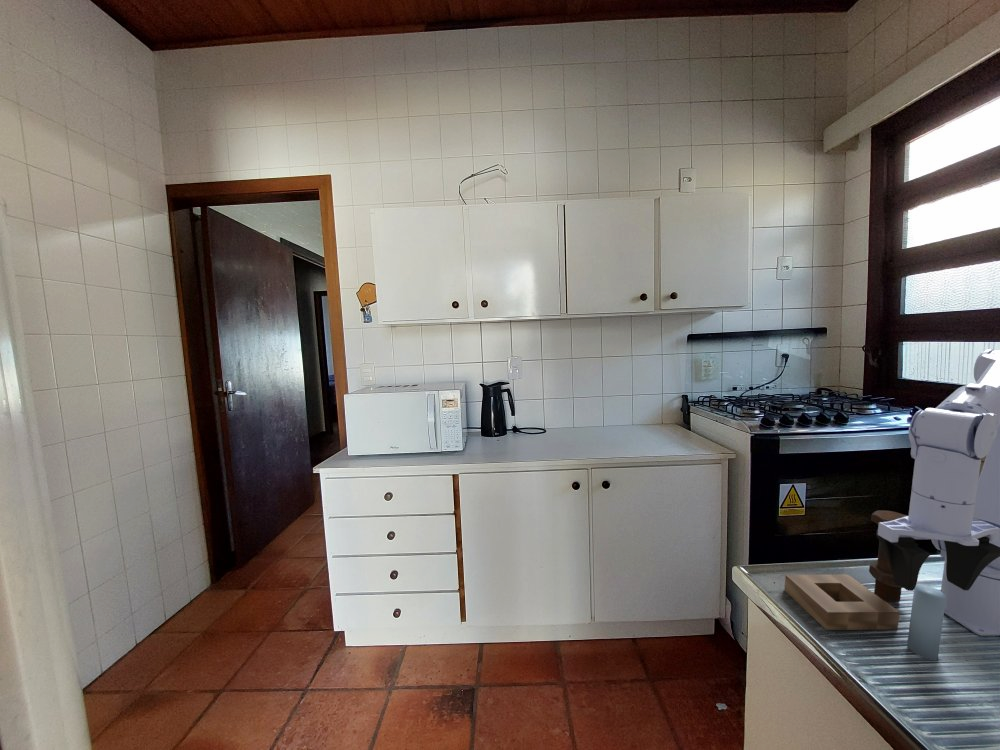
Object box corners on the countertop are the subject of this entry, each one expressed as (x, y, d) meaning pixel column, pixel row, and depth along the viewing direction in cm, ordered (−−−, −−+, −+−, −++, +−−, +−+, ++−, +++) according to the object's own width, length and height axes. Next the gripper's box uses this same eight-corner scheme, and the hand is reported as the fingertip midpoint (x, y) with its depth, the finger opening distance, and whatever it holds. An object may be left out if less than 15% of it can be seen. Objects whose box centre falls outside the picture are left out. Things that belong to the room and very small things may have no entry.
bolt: (918, 612, 62) (929, 527, 60) (882, 608, 63) (892, 524, 61) (890, 588, 68) (899, 510, 66) (857, 585, 69) (865, 508, 67)
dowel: (921, 642, 56) (928, 584, 55) (944, 660, 53) (953, 598, 52) (901, 642, 56) (908, 584, 55) (923, 660, 53) (930, 599, 52)
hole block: (846, 589, 68) (847, 574, 67) (897, 629, 59) (899, 611, 58) (784, 590, 68) (785, 574, 68) (826, 629, 59) (827, 612, 59)
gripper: (920, 509, 48) (908, 606, 50) (1036, 508, 48) (1020, 606, 49) (867, 486, 55) (858, 572, 57) (968, 485, 55) (957, 571, 56)
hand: (930, 585), depth 54 cm, fingers open, 7 cm apart
